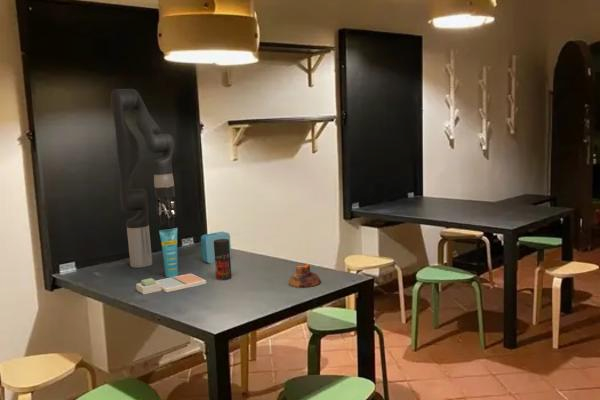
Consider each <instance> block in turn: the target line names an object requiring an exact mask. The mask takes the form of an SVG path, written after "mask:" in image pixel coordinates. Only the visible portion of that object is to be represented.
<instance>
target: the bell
mask: <svg viewBox="0 0 600 400" xmlns="http://www.w3.org/2000/svg"><path fill="white" fill-rule="evenodd" d="M320 283H321V278H320V277H319V275H318V274H317V273H315V272H313V271H311V265H310V264H308V263H303V264H302V265H297V266H296V267H295V273H294V274H292V275H291V276H290V277H289V279H288V284H289V286H291V287H293V288H297V289H299V288H301V289H302V288H303V289H304V288H305V289H307V288H313V287H316V286H318V285H320Z"/></svg>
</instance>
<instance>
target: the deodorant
mask: <svg viewBox="0 0 600 400" xmlns="http://www.w3.org/2000/svg"><path fill="white" fill-rule="evenodd" d="M214 254H215V263H214V264H215V265H214V266H215V277H216V278H215V279H216V280H217V281H227V280H231V279H232V277H233V276H232V262H231V258H230V248H229V239H217V240H214Z"/></svg>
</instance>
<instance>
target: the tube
mask: <svg viewBox="0 0 600 400" xmlns="http://www.w3.org/2000/svg"><path fill="white" fill-rule="evenodd" d="M158 232H159V239H160V245H161V251H162V258H163V265H164V274H165V278H171V277H176V276H179V268H178V267H179V266H178V265H179V264H178V259H179V258H178V227H172V228H171V229H170V228H169V229H162V230H161V229H160V230H159V231H158Z"/></svg>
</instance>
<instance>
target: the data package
mask: <svg viewBox="0 0 600 400" xmlns="http://www.w3.org/2000/svg"><path fill="white" fill-rule="evenodd" d="M217 239H229V248H230V259H231V258H232V247H231V246H232V245H231V234H230V233H229V232H226V231H217V232H212V233H211V232H210V233H206V234H203V235H201V237H200V243H201V258H202V261H203V262H204V263H206V264H215V254H214V240H217Z"/></svg>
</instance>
